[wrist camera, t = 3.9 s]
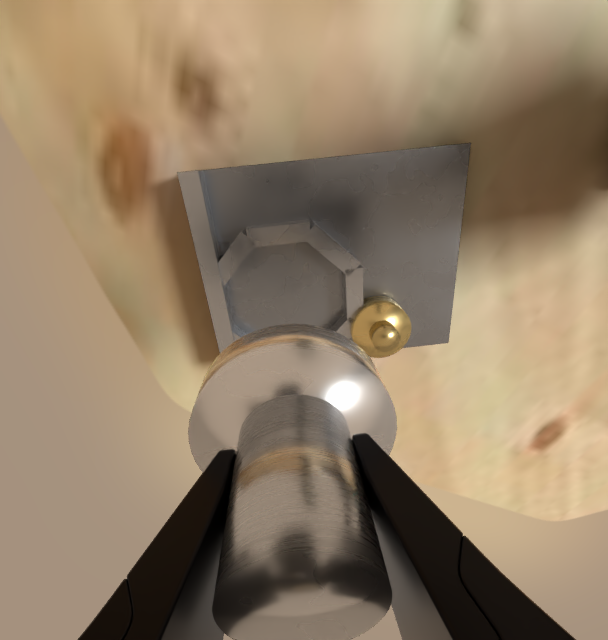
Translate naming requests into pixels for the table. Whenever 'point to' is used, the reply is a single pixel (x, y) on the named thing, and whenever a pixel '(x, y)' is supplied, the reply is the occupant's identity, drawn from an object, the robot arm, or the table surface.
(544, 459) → the table surface
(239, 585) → the silver metal knob
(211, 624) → the robot arm
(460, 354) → the table surface
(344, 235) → the plate
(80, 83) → the table surface
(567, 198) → the table surface
